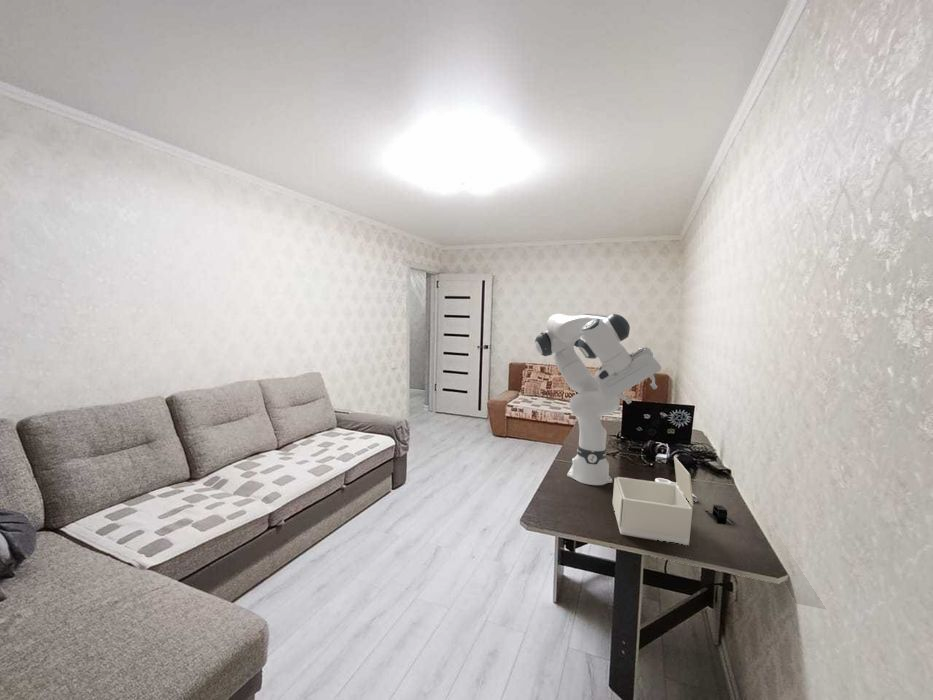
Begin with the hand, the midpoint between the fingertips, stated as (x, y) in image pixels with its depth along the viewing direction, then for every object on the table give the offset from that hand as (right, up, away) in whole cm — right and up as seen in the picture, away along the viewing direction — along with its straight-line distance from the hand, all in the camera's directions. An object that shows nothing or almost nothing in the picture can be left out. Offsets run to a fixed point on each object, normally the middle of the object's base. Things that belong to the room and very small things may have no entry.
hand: (642, 395), depth 131 cm
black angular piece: (+32, -46, +11) cm, 57 cm away
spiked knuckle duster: (+25, -44, +29) cm, 58 cm away
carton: (+3, -45, +3) cm, 45 cm away
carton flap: (+13, -28, -1) cm, 31 cm away
